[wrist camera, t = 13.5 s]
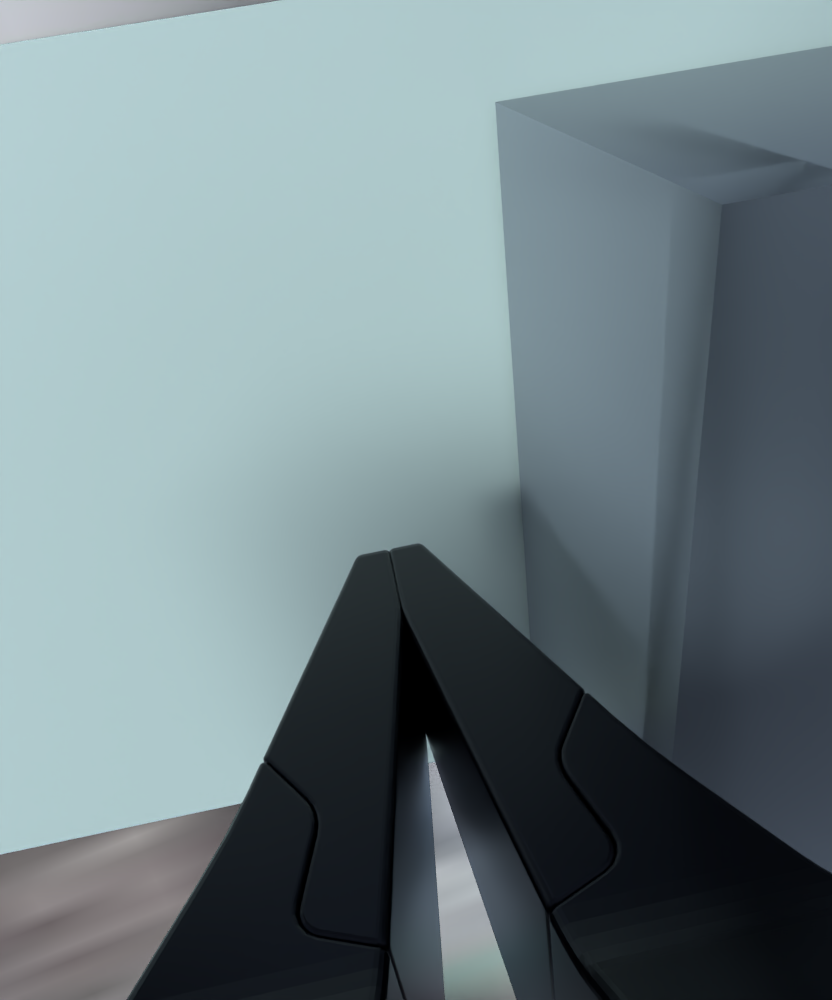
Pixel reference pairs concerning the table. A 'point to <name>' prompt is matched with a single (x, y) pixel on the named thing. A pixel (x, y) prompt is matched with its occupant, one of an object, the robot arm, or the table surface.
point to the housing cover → (683, 414)
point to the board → (261, 356)
